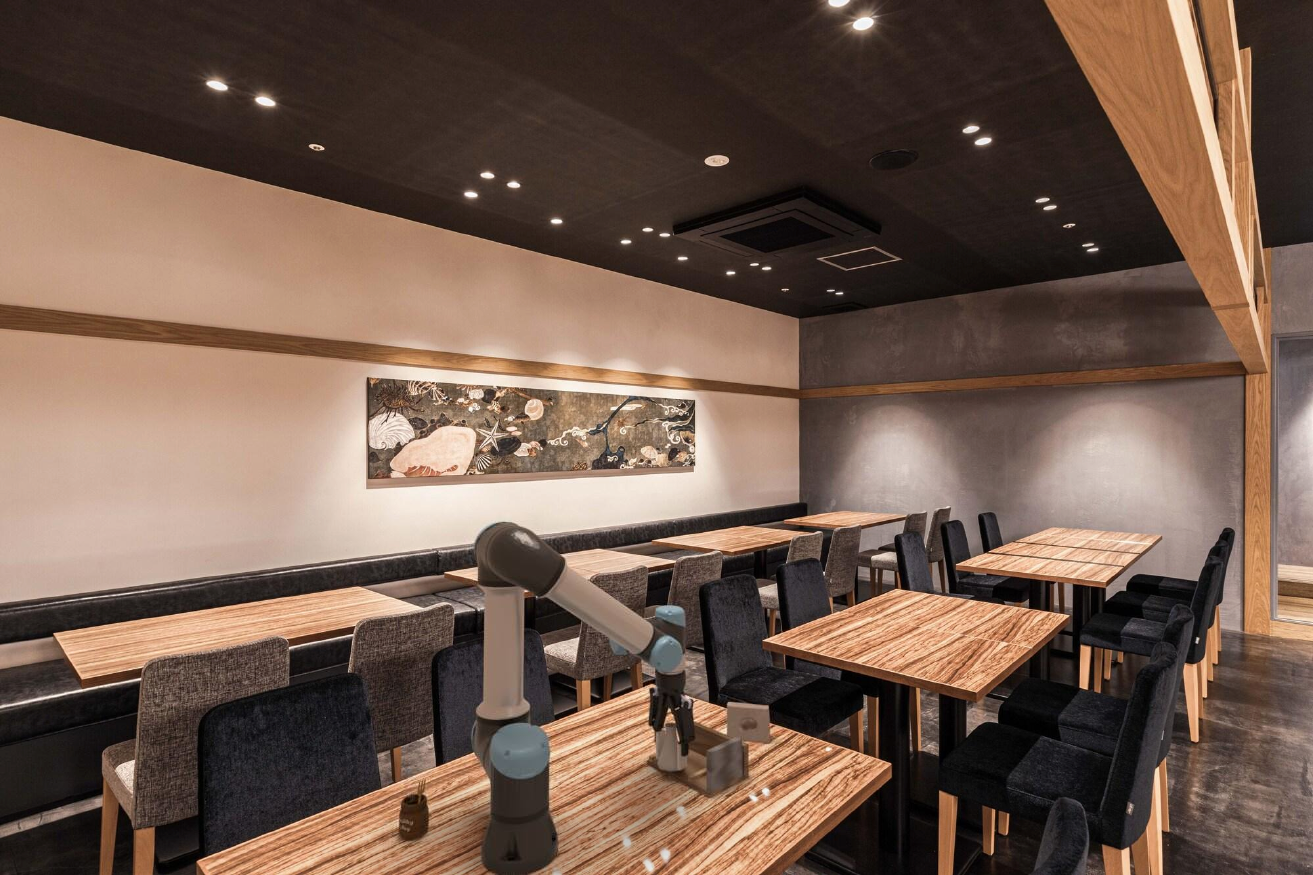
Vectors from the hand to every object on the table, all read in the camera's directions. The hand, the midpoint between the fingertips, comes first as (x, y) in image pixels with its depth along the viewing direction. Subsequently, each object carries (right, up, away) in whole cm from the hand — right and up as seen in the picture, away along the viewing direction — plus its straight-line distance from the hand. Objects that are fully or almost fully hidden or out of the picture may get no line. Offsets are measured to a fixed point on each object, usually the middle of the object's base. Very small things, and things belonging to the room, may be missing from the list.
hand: (671, 762), depth 163 cm
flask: (0, -1, 0) cm, 1 cm away
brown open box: (+6, -3, +2) cm, 7 cm away
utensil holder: (-55, -3, -25) cm, 60 cm away
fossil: (+22, -4, +20) cm, 30 cm away
